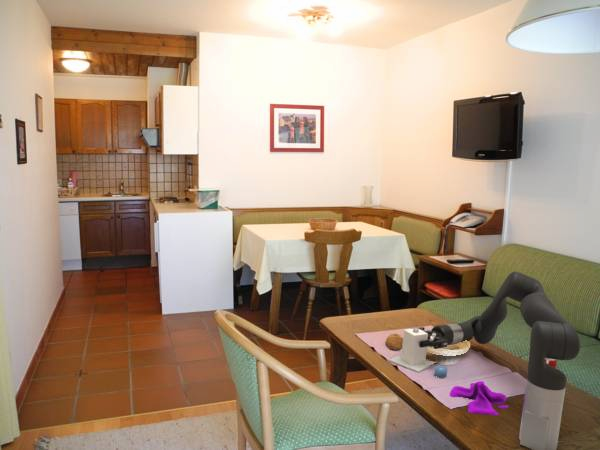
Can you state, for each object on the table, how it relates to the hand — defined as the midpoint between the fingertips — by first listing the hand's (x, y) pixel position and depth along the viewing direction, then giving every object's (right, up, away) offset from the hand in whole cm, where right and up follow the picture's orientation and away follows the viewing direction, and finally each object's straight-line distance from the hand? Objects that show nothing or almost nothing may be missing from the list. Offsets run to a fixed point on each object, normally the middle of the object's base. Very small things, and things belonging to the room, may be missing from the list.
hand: (412, 340), depth 183 cm
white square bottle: (+1, -8, +2) cm, 8 cm away
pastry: (-3, -6, +17) cm, 18 cm away
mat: (+1, -8, +2) cm, 9 cm away
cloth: (+18, -14, -22) cm, 31 cm away
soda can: (+40, -13, -15) cm, 44 cm away
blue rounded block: (+8, -10, -8) cm, 15 cm away
